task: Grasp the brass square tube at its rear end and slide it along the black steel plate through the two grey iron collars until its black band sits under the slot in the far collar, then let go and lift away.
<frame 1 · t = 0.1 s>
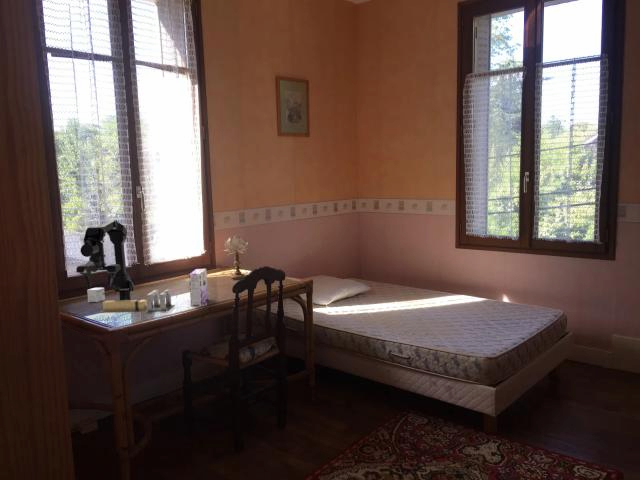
hand: (100, 286, 250), 14 cm above the table, fingers open, 9 cm apart
candy box: (199, 302, 274), on the table
iron collar frame: (160, 310, 261), on the table
brass tube: (125, 309, 261), point 1 cm above the table, touching iron collar frame
skincare box: (96, 302, 282), on the table
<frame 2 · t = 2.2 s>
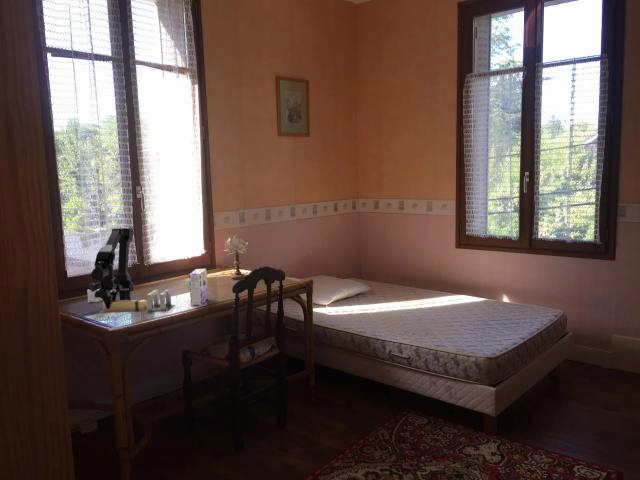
hand: (110, 307, 261), 2 cm above the table, fingers closed on brass tube, 4 cm apart
brass tube: (125, 309, 261), point 1 cm above the table, touching gripper, iron collar frame
everything else where it was.
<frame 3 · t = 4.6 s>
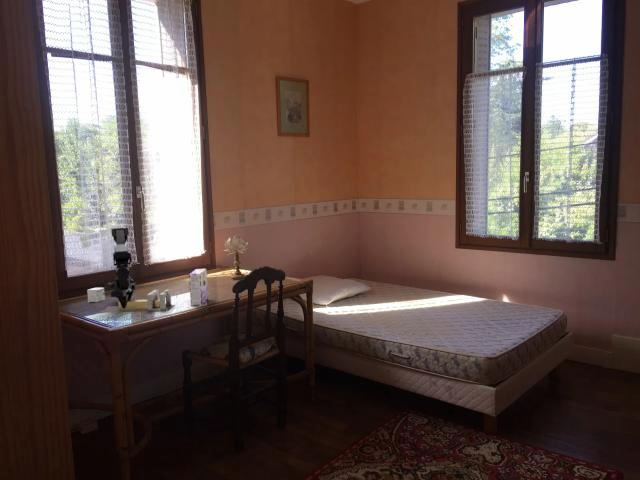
hand: (125, 307, 261), 2 cm above the table, fingers closed on brass tube, 4 cm apart
brass tube: (140, 308, 261), point 1 cm above the table, touching gripper
everything else where it was.
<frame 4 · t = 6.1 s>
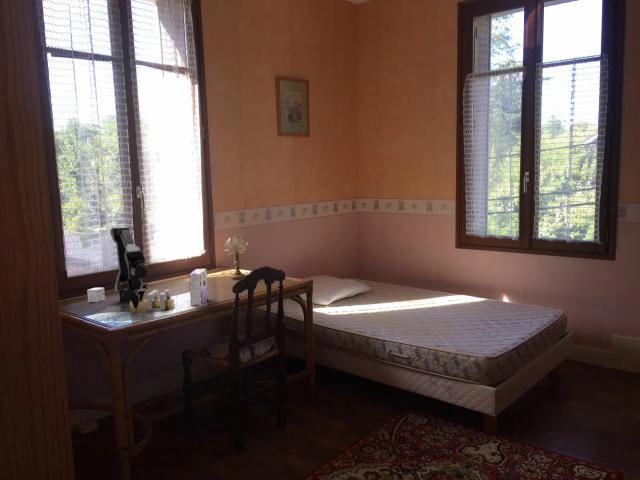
hand: (137, 307, 261), 2 cm above the table, fingers closed on brass tube, 4 cm apart
brass tube: (152, 308, 261), point 1 cm above the table, touching gripper
everything else where it was.
when the fingers open (2 cm above the table, at t = 7.0 s): brass tube stays where it is, resting on iron collar frame.
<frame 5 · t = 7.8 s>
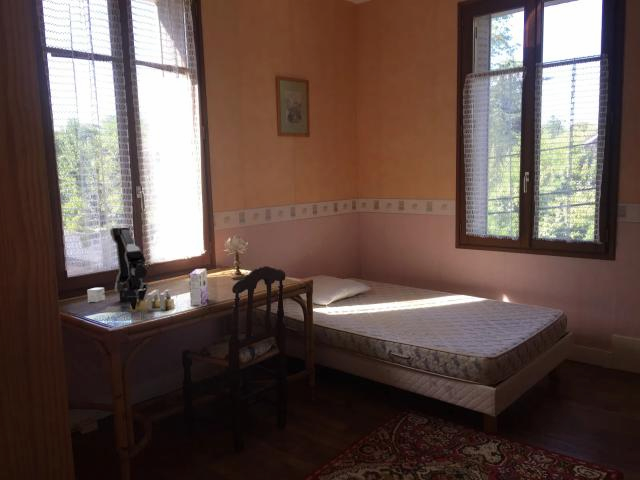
hand: (137, 307, 261), 2 cm above the table, fingers open, 9 cm apart
brass tube: (152, 308, 261), point 1 cm above the table, touching iron collar frame
everything else where it was.
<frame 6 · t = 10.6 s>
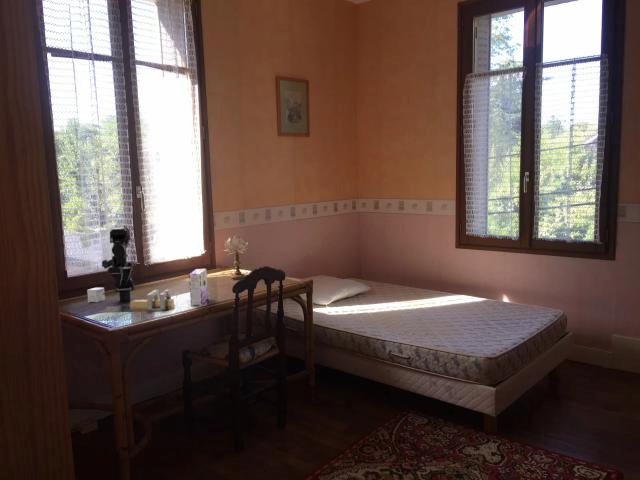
hand: (122, 284, 266), 12 cm above the table, fingers open, 9 cm apart
nothing on the table moved.
at the end: brass tube 0.4 cm from the target spot, point 1.0 cm above the table; the gripper is holding nothing; brass tube tilted 0° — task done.
